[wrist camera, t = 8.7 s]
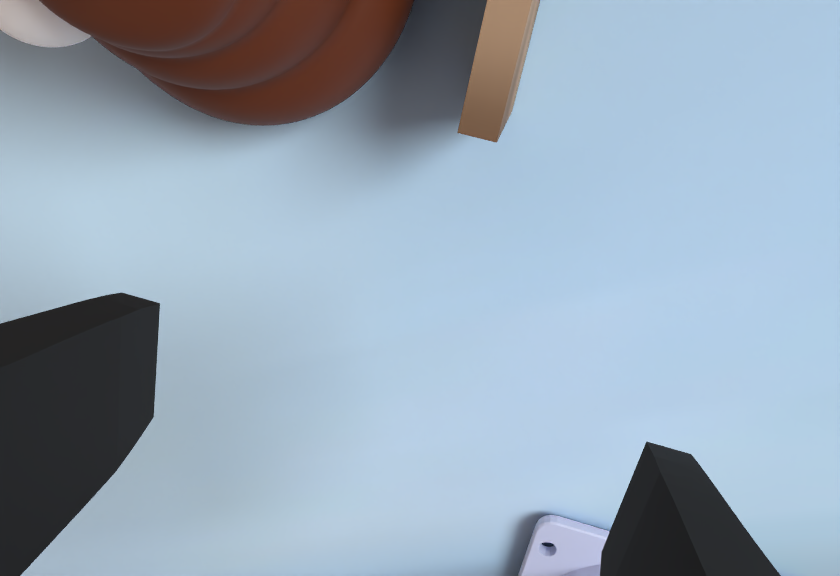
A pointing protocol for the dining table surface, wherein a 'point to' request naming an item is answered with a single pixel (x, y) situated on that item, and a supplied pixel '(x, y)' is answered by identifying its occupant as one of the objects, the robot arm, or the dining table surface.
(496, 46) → the brown u-shaped block
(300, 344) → the dining table surface
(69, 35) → the poop emoji
